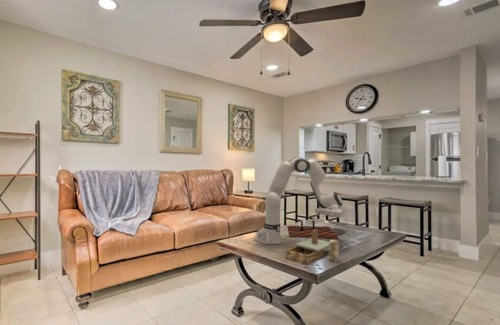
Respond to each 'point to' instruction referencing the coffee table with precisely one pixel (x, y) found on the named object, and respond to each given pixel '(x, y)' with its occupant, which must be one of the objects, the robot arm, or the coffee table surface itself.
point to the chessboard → (307, 231)
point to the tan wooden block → (333, 250)
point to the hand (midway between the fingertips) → (323, 213)
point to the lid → (314, 242)
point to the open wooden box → (303, 254)
